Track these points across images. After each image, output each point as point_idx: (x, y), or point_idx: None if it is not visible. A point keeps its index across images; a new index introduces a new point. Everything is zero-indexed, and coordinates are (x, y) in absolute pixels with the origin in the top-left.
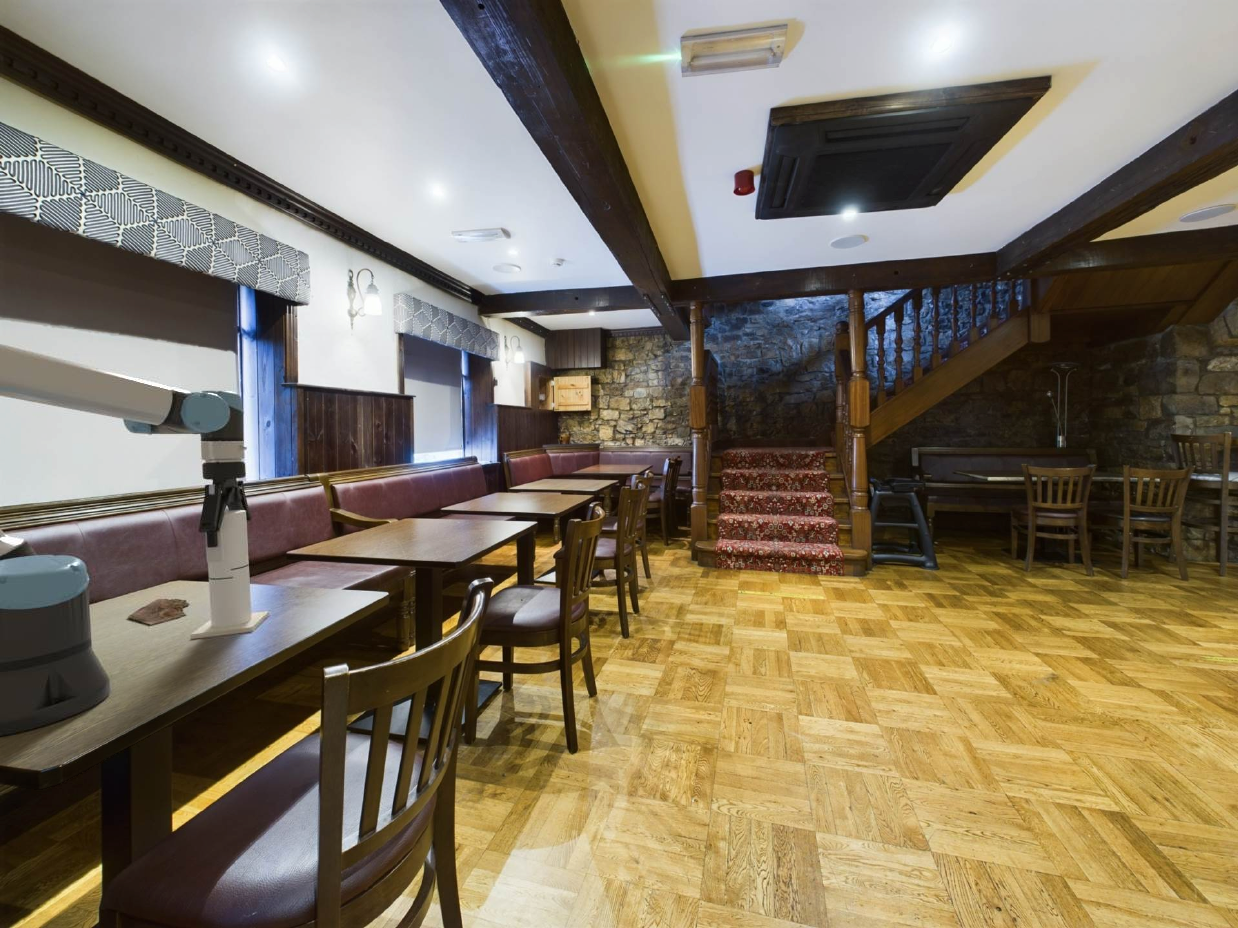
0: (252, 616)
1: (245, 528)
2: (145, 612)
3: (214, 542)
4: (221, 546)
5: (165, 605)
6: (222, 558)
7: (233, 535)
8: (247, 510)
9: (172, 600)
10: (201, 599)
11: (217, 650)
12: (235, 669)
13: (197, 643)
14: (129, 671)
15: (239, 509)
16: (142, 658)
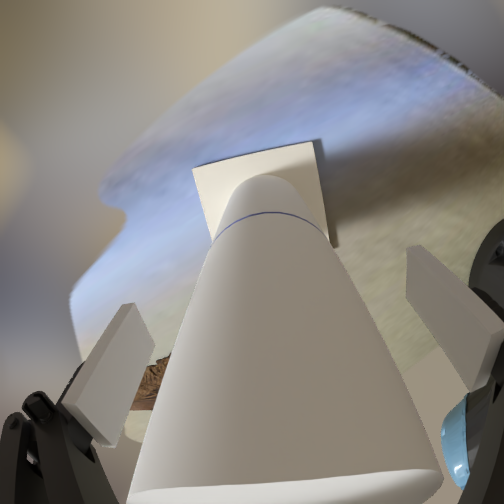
0: (229, 186)
1: (260, 318)
2: None
3: (492, 301)
4: (457, 277)
5: (141, 391)
6: (422, 251)
7: (367, 315)
8: (14, 449)
9: None
10: None
11: (403, 158)
12: (473, 92)
13: (358, 220)
14: (445, 250)
15: (91, 501)
16: (402, 269)
